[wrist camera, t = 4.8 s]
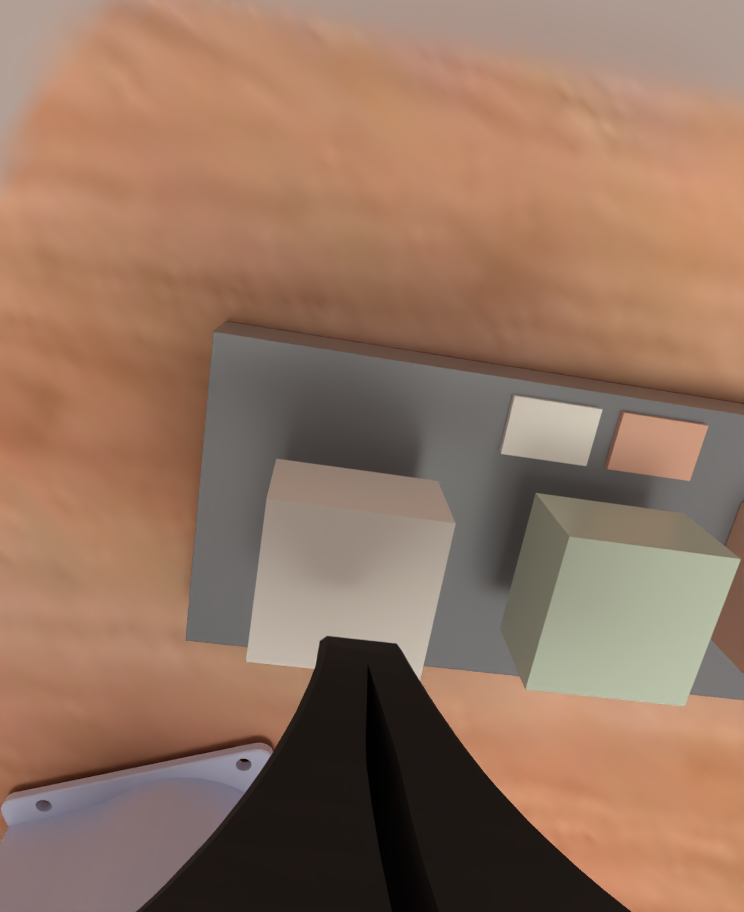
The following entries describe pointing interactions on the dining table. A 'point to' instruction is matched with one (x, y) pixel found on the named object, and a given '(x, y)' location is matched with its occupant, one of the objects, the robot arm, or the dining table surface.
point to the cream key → (347, 562)
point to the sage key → (614, 600)
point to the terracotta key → (733, 602)
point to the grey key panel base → (446, 467)
